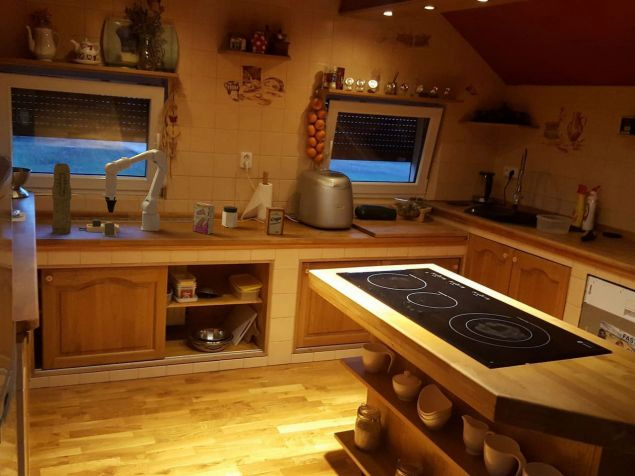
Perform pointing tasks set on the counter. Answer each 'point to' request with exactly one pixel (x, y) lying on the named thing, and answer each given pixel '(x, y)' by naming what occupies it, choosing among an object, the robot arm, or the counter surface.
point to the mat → (109, 235)
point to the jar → (229, 216)
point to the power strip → (98, 228)
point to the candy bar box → (203, 218)
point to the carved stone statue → (61, 199)
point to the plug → (96, 222)
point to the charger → (109, 228)
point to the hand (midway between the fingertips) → (110, 211)
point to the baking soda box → (274, 220)
